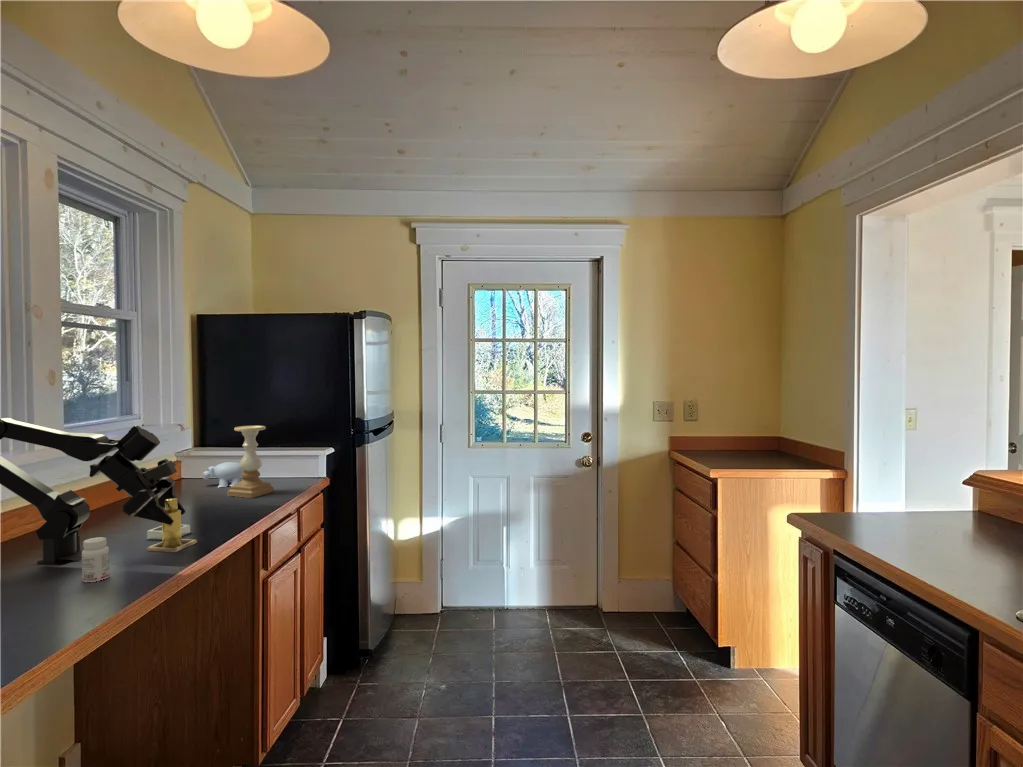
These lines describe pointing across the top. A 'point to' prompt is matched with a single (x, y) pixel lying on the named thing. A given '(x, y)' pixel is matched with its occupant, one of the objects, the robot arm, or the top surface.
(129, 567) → the top surface
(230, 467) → the hippopotamus toy
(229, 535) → the top surface
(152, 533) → the socket
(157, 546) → the tan flat square frame
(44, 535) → the robot arm
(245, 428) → the candle holder
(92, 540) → the pill bottle
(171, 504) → the gold bottle
